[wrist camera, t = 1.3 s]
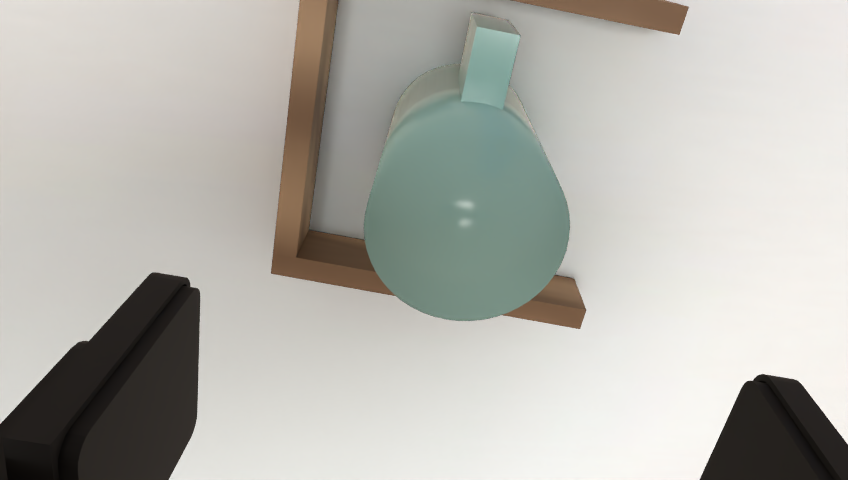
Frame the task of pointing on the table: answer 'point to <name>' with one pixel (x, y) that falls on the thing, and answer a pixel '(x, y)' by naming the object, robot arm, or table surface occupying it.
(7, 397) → the table surface
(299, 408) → the table surface
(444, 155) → the teal mug
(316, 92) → the holder
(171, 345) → the robot arm
